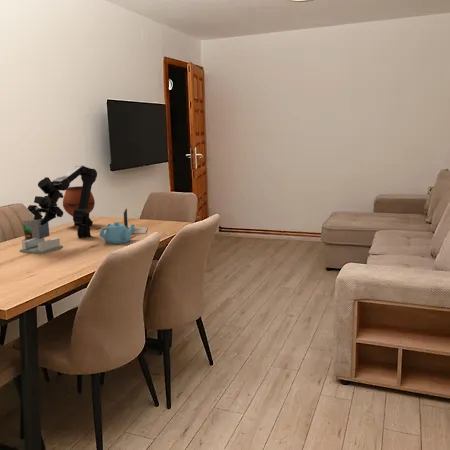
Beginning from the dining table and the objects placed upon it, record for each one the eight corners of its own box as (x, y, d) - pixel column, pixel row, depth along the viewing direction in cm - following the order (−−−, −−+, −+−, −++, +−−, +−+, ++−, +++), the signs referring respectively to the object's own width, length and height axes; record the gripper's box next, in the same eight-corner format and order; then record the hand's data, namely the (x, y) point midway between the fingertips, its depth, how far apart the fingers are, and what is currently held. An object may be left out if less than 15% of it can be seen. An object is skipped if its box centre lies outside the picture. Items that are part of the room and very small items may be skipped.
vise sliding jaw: (37, 243, 249) (37, 236, 249) (44, 244, 248) (44, 236, 247) (18, 248, 238) (18, 241, 237) (25, 249, 236) (25, 241, 235)
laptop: (146, 234, 278) (145, 212, 275) (124, 234, 276) (123, 212, 274) (147, 228, 295) (146, 207, 293) (127, 228, 294) (126, 207, 292)
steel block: (49, 235, 242) (48, 218, 240) (39, 238, 235) (37, 220, 234) (42, 235, 243) (41, 218, 242) (32, 238, 237) (30, 220, 235)
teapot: (109, 238, 266) (108, 219, 264) (135, 238, 263) (134, 219, 261) (98, 244, 251) (97, 224, 249) (126, 245, 248) (125, 224, 246)
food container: (33, 239, 265) (31, 221, 264) (23, 238, 267) (21, 221, 265) (45, 234, 277) (44, 217, 275) (36, 234, 279) (34, 217, 277)
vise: (41, 245, 250) (40, 235, 249) (63, 247, 245) (62, 237, 244) (19, 251, 236) (18, 241, 235) (41, 253, 231) (41, 243, 230)
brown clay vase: (58, 228, 295) (55, 188, 290) (74, 223, 313) (72, 185, 309) (86, 229, 291) (84, 189, 286) (101, 224, 309) (99, 185, 305)
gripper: (28, 189, 242) (13, 214, 234) (57, 190, 235) (43, 216, 227) (40, 202, 251) (27, 226, 243) (69, 204, 244) (56, 229, 236)
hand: (37, 224), depth 237 cm, fingers closed on steel block, 4 cm apart
